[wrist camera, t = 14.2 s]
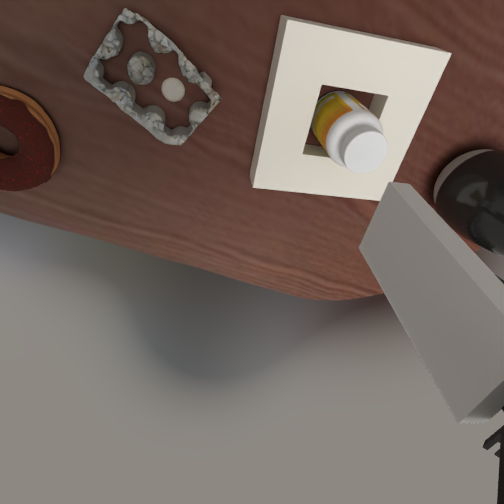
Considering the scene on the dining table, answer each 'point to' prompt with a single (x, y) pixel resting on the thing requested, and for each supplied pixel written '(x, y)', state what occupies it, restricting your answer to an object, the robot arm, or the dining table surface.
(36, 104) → the donut
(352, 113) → the supplement bottle
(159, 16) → the dining table surface
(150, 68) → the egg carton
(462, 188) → the pump dispenser
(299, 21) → the socket holder
